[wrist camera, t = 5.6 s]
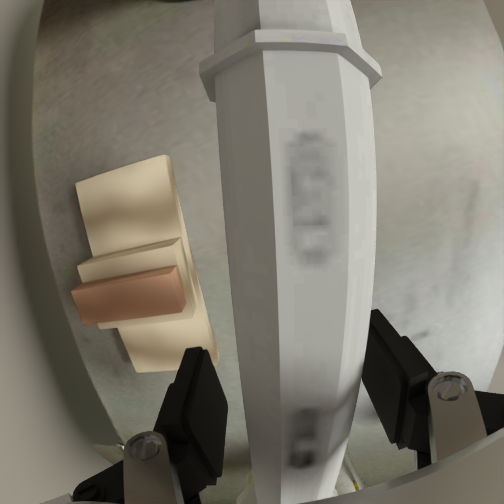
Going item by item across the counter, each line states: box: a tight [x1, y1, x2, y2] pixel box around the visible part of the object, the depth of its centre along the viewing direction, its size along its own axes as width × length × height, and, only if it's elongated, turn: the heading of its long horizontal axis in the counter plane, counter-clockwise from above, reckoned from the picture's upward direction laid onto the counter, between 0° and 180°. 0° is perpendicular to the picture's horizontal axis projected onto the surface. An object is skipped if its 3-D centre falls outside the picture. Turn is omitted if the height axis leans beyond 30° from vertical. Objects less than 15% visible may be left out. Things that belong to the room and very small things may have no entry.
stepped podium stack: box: [71, 155, 219, 373], centre depth 24 cm, size 20×9×7 cm, turn 11°
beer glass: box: [335, 442, 366, 496], centre depth 27 cm, size 7×7×15 cm
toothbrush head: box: [199, 0, 382, 504], centre depth 9 cm, size 5×7×25 cm
